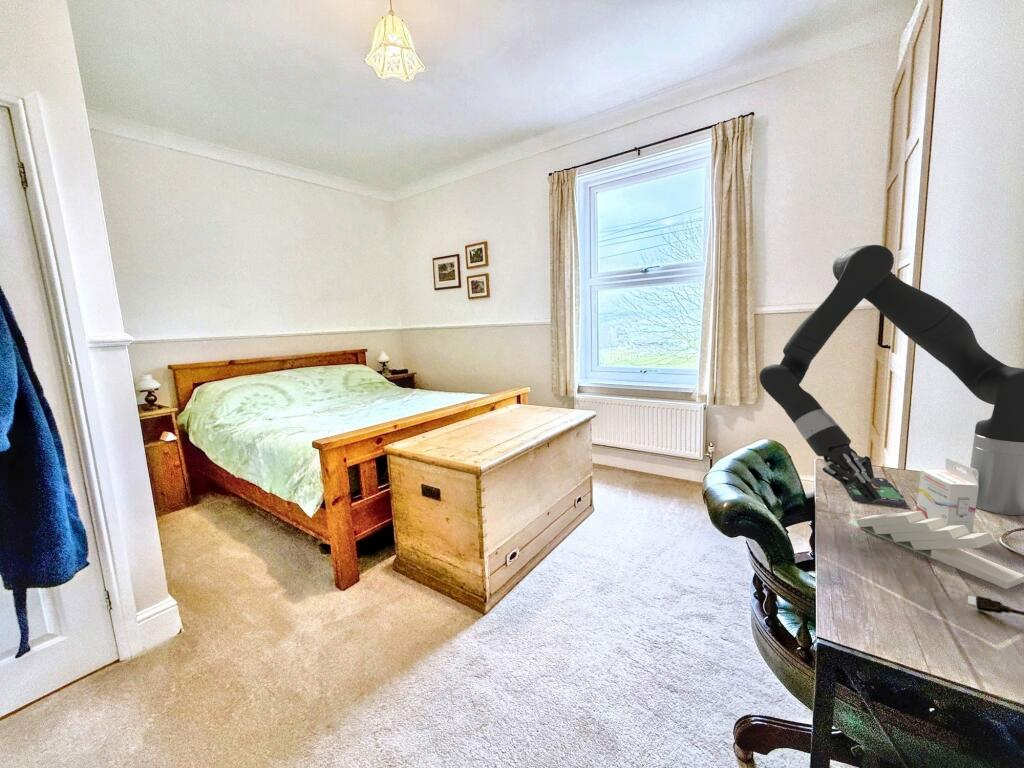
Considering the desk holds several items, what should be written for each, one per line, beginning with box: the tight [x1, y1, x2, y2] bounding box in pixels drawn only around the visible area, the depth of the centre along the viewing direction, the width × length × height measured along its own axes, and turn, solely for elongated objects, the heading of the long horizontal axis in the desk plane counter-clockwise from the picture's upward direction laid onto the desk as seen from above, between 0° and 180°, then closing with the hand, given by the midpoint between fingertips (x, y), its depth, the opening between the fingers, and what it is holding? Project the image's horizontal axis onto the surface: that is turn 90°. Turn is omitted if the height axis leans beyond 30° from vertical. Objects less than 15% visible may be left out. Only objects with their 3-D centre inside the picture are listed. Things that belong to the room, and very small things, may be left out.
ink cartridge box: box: [915, 457, 979, 534], centre depth 87 cm, size 9×5×15 cm, turn 168°
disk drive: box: [841, 476, 907, 508], centre depth 105 cm, size 10×3×15 cm
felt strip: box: [846, 519, 933, 559], centre depth 84 cm, size 5×15×1 cm, turn 18°
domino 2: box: [872, 518, 947, 534], centre depth 82 cm, size 5×2×10 cm
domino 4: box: [910, 532, 996, 550], centre depth 76 cm, size 5×2×10 cm
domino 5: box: [929, 548, 1024, 590], centre depth 73 cm, size 5×2×10 cm
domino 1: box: [855, 510, 926, 527], centre depth 85 cm, size 5×2×10 cm
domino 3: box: [891, 525, 970, 543], centre depth 79 cm, size 5×2×10 cm
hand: (875, 500), depth 87 cm, fingers closed
